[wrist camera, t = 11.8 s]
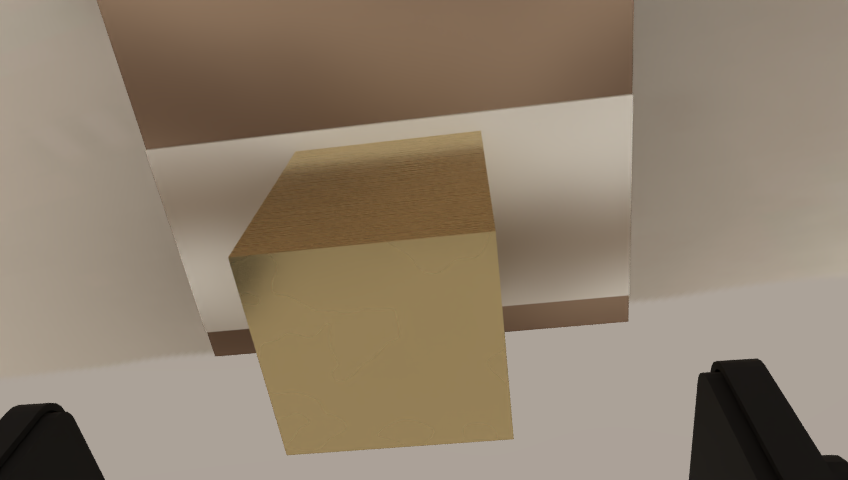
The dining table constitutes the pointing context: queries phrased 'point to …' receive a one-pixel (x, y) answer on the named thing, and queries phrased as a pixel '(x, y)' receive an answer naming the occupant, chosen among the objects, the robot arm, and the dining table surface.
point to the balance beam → (393, 126)
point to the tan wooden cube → (379, 297)
